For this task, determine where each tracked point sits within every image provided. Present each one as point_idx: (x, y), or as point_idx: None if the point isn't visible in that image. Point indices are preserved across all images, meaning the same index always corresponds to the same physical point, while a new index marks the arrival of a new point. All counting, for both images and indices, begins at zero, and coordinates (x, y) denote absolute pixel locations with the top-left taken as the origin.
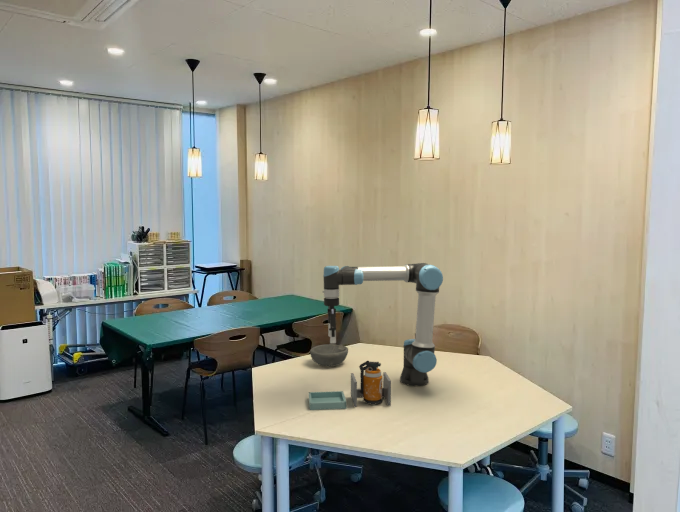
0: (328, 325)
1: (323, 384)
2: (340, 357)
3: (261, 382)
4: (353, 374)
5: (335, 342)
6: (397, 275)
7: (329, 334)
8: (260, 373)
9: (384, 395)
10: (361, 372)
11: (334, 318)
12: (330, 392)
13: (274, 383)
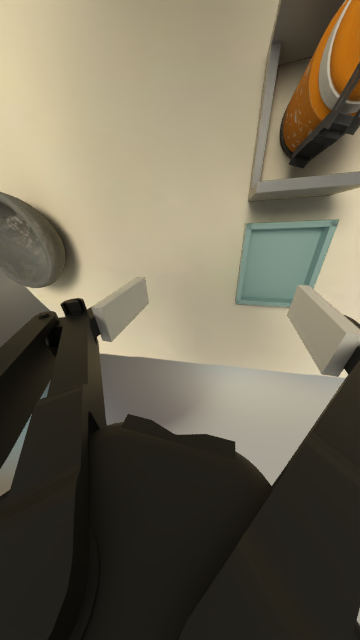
0: (117, 335)
1: (160, 263)
2: (38, 216)
3: (152, 354)
4: (275, 181)
5: (310, 289)
6: None
7: (143, 303)
8: (116, 351)
9: (297, 52)
10: (345, 130)
11: None
12: (246, 257)
13: (156, 340)
